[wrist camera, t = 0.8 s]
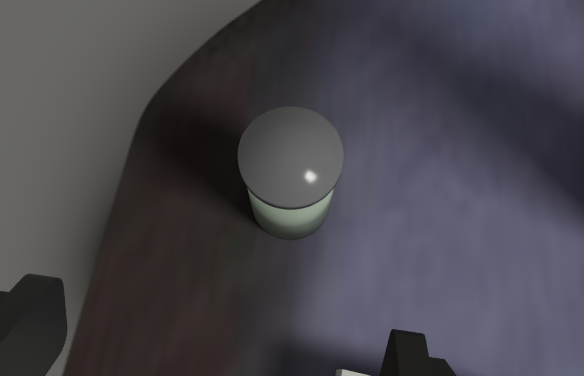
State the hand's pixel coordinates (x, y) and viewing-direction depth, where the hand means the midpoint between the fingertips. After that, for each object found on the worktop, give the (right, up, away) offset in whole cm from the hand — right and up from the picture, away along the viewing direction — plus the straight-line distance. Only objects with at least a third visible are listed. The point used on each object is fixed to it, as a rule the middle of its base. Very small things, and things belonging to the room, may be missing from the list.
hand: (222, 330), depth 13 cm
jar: (+2, +2, +29) cm, 29 cm away
